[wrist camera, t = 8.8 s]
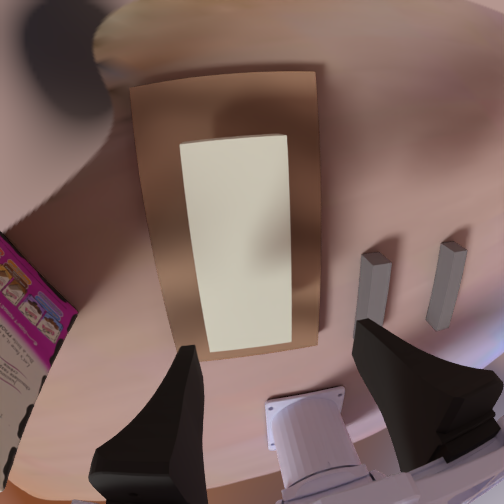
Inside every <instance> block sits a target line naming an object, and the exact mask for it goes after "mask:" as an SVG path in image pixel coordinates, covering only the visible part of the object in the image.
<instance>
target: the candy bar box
mask: <svg viewBox="0 0 504 504" xmlns="http://www.w3.org/2000/svg"><path fill="white" fill-rule="evenodd" d="M77 315H78V311H77V310H76V309H75V308H74V307H73V306H72V305H71V304H70V303H69V302H67V301H66V300H65V299H64V298H63V297H62V296H61V295H60V294H59V293H58V292H57V291H56V290H55V289H54V288H53V287H52V286H51V285H50V284H49V283H48V282H47V281H46V280H45V279H44V278H43V277H42V276H41V275H40V274H39V273H38V272H37V271H36V270H35V269H34V268H33V267H32V266H31V265H30V264H29V263H28V262H27V261H26V260H25V258H24V257H23V256H22V255H21V254H20V253H19V252H18V251H17V250H16V249H15V247H14V246H13V245H12V244H11V243H10V242H9V241H8V239H7V238H6V237H5V236H4V235H3V234H2V232H1V231H0V492H2V491H3V490H4V489H5V487H6V483H7V480H8V476H9V473H10V470H11V467H12V465H13V461H14V458H15V455H16V452H17V449H18V446H19V443H20V440H21V437H22V434H23V432H24V429H25V427H26V424H27V422H28V419H29V417H30V414H31V412H32V409H33V407H34V404H35V402H36V400H37V397H38V395H39V393H40V391H41V388H42V386H43V384H44V382H45V379H46V378H47V375H48V373H49V370H50V368H51V366H52V364H53V362H54V360H55V358H56V356H57V354H58V352H59V350H60V348H61V346H62V344H63V342H64V340H65V338H66V336H67V334H68V332H69V331H70V329H71V327H72V325H73V323H74V321H75V319H76V317H77Z"/></svg>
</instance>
